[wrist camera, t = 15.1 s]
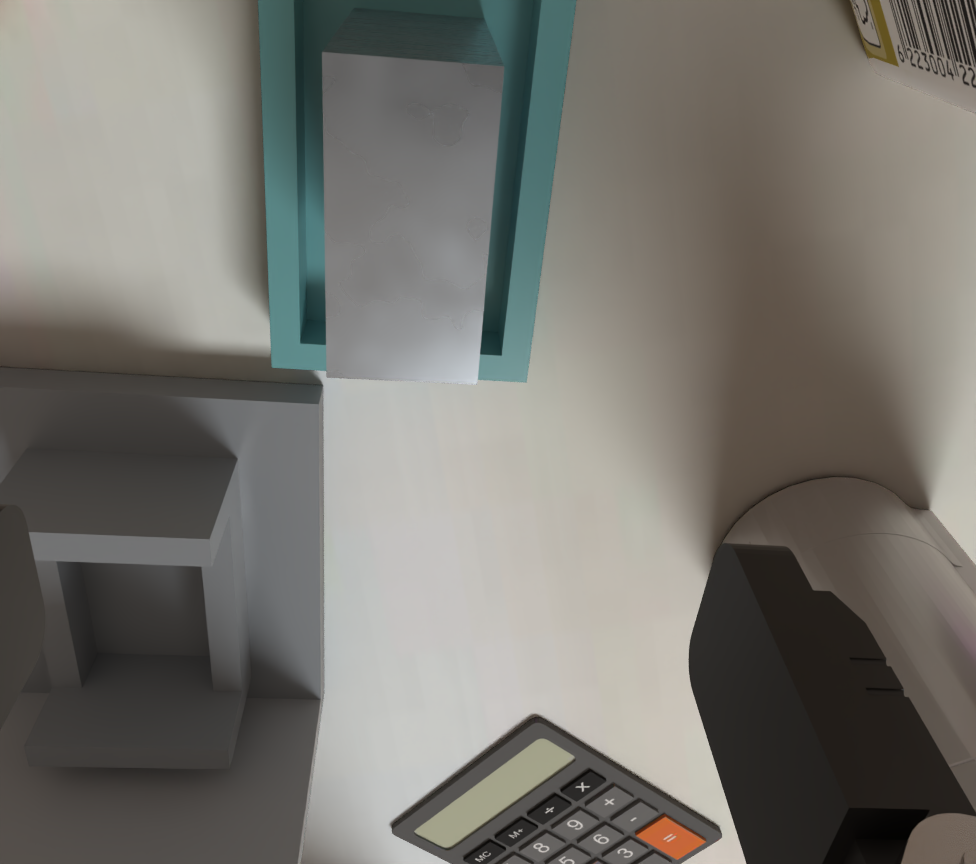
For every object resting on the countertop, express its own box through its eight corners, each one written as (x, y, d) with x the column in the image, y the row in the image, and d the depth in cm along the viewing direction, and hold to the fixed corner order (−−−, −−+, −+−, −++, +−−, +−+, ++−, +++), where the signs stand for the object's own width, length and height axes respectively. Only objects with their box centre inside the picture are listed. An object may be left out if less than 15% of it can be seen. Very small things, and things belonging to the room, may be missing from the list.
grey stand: (323, 385, 34) (253, 693, 21) (324, 692, 43) (275, 1047, 30) (-57, 363, 33) (-387, 678, 20) (24, 685, 42) (-167, 1053, 28)
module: (484, 18, 27) (504, 66, 20) (466, 265, 31) (477, 384, 24) (354, 7, 27) (321, 52, 19) (353, 258, 31) (326, 377, 23)
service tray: (576, -105, 26) (590, -105, 24) (520, 350, 34) (526, 382, 32) (268, -139, 25) (252, -142, 23) (282, 335, 33) (271, 367, 31)
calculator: (578, 930, 54) (388, 835, 48) (576, 915, 55) (389, 820, 49) (726, 839, 50) (537, 723, 44) (721, 824, 51) (536, 709, 45)
